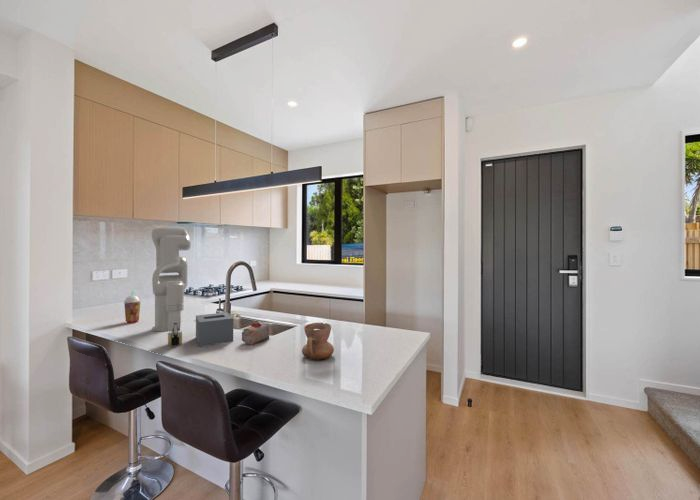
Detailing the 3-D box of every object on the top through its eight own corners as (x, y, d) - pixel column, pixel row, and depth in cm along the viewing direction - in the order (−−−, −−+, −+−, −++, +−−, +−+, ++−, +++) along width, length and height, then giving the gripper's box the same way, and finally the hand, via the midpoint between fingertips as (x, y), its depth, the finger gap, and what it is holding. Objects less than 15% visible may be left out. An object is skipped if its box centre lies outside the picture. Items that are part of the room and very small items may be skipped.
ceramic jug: (313, 348, 147) (312, 319, 147) (340, 352, 142) (339, 322, 141) (293, 362, 131) (292, 330, 130) (322, 367, 125) (322, 333, 125)
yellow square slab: (167, 345, 149) (167, 333, 149) (181, 343, 152) (181, 331, 152) (168, 346, 147) (168, 334, 147) (181, 344, 151) (181, 332, 151)
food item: (251, 346, 149) (251, 326, 149) (240, 344, 152) (240, 324, 152) (270, 339, 161) (270, 320, 161) (259, 336, 165) (259, 318, 164)
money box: (195, 337, 161) (195, 315, 161) (227, 333, 170) (227, 312, 170) (199, 346, 148) (199, 322, 148) (233, 341, 156) (233, 318, 156)
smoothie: (120, 323, 187) (120, 291, 186) (132, 320, 195) (132, 289, 194) (132, 324, 185) (132, 292, 185) (143, 321, 193) (143, 290, 193)
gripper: (165, 305, 155) (165, 339, 155) (166, 311, 140) (166, 349, 141) (182, 303, 159) (182, 337, 159) (184, 310, 144) (184, 347, 145)
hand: (174, 342), depth 150 cm, fingers open, 6 cm apart
